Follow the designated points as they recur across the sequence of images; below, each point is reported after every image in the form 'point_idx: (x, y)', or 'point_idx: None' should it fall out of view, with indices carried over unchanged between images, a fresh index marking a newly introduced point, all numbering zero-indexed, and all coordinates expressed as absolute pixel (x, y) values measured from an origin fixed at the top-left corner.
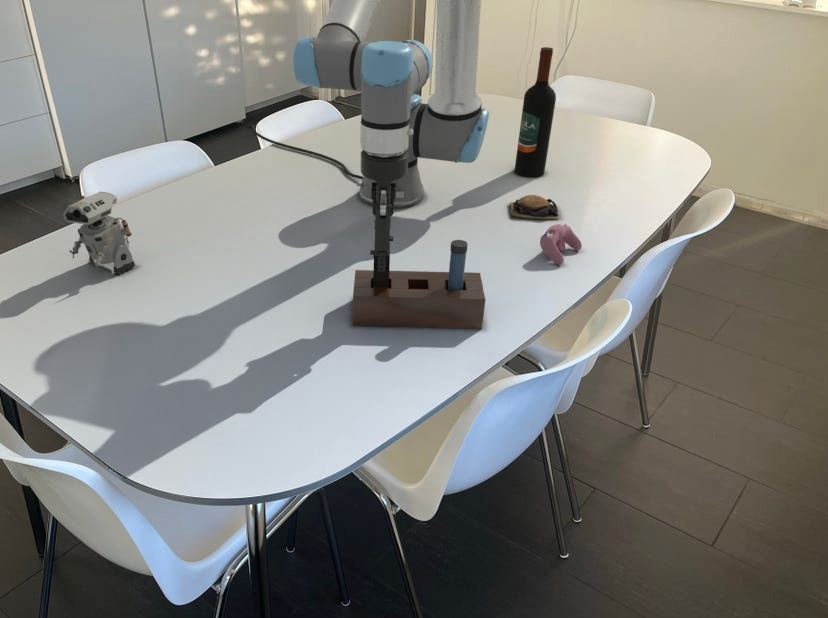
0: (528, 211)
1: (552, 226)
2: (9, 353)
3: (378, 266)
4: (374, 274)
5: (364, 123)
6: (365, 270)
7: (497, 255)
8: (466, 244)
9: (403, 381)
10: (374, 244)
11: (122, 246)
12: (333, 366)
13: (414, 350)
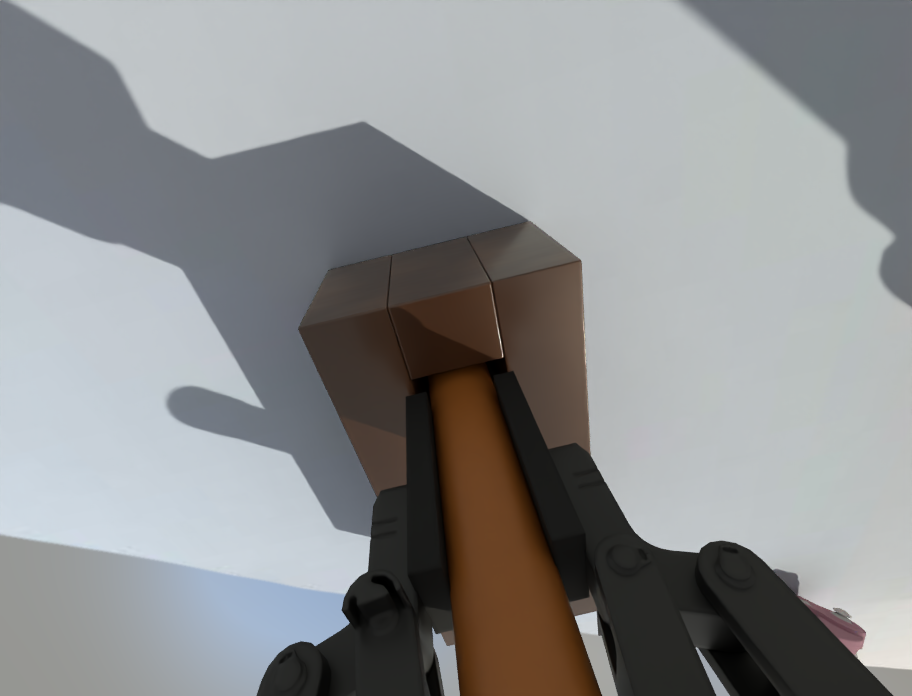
0: None
1: (851, 646)
2: None
3: (372, 534)
4: (406, 449)
5: None
6: (579, 311)
7: (793, 515)
8: None
9: (115, 477)
10: (492, 594)
11: None
12: (25, 279)
13: (278, 465)
